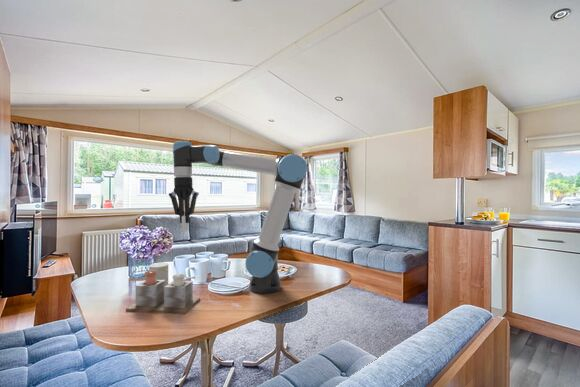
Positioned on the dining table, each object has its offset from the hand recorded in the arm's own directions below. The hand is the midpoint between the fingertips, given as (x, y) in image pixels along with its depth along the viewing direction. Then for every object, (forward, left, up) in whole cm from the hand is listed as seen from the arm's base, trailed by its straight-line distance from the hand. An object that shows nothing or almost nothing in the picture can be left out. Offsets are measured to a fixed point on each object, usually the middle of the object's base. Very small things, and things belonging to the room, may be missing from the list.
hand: (185, 230), depth 127 cm
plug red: (+10, +10, -26) cm, 29 cm away
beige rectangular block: (+16, -6, -30) cm, 34 cm away
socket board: (+4, +10, -29) cm, 31 cm away
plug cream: (-2, +10, -27) cm, 29 cm away
